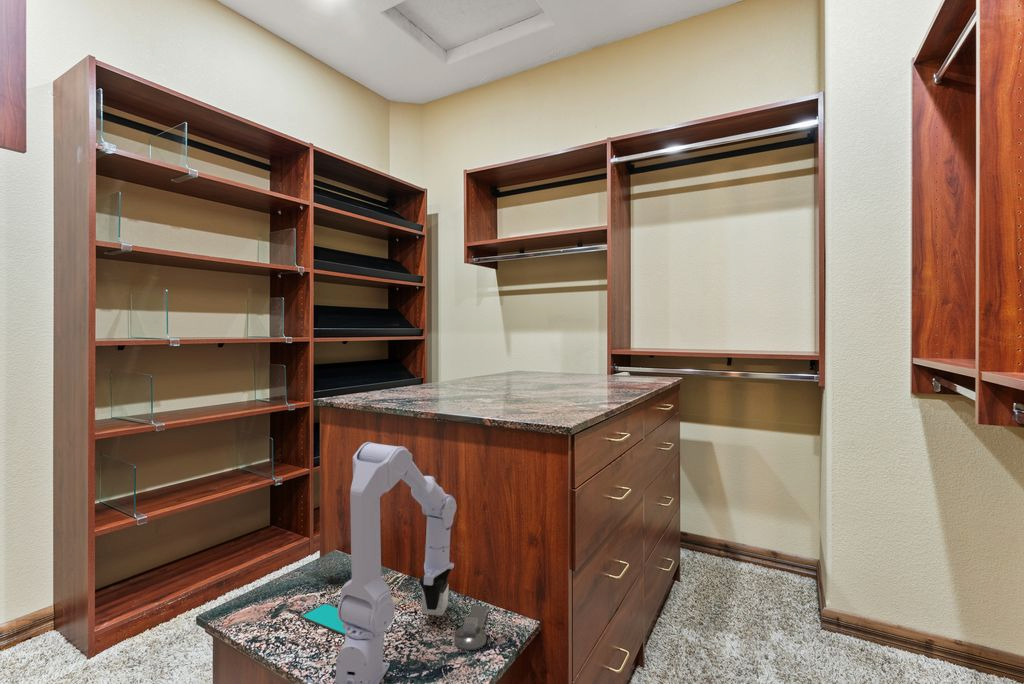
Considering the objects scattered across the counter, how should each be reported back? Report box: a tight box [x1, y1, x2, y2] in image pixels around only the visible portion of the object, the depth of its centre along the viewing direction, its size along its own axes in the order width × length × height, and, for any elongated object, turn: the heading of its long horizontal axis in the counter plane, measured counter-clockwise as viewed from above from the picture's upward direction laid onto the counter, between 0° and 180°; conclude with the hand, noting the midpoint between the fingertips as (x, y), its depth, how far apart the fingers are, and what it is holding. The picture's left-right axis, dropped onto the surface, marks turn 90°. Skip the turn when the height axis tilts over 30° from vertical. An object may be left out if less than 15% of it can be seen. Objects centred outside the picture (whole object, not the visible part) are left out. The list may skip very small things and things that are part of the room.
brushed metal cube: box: [421, 582, 450, 616], centre depth 112 cm, size 5×5×5 cm
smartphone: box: [299, 602, 346, 637], centre depth 110 cm, size 7×1×15 cm
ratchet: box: [453, 605, 489, 651], centre depth 108 cm, size 16×7×4 cm, turn 174°
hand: (435, 602), depth 112 cm, fingers closed on brushed metal cube, 5 cm apart
